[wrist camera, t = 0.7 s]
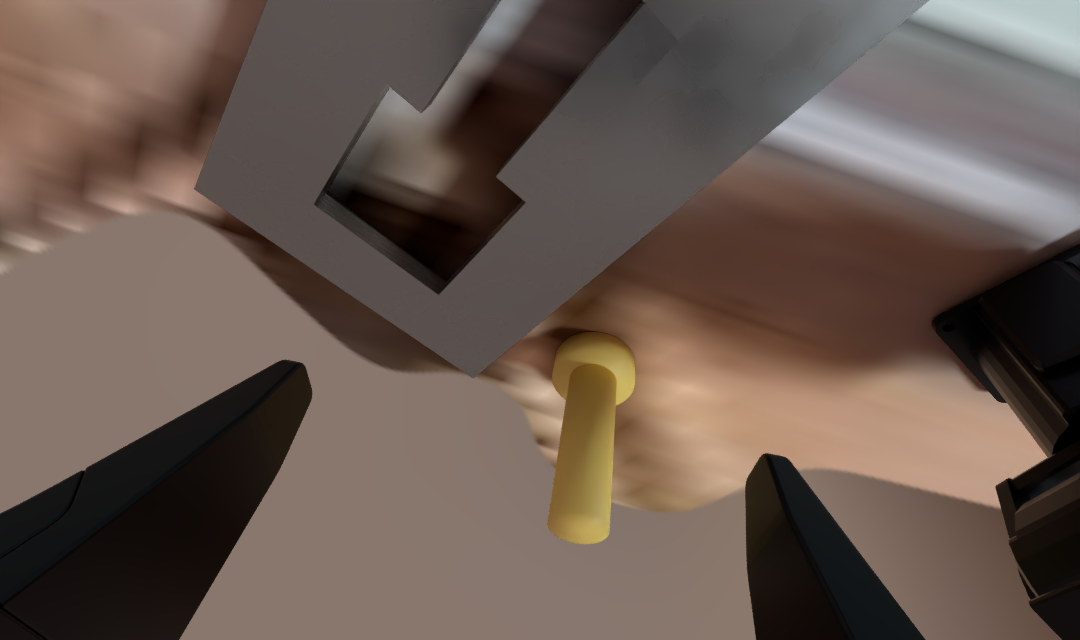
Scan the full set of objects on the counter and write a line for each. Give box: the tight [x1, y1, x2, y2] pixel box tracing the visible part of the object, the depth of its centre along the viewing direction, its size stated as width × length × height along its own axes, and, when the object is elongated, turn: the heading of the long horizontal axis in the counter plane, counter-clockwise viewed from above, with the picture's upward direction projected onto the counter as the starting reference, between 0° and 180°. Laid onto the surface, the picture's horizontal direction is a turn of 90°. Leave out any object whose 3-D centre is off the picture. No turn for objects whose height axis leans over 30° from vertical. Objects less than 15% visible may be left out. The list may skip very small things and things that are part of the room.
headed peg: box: [548, 332, 635, 544], centre depth 23 cm, size 4×4×9 cm
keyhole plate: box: [194, 0, 929, 378], centre depth 18 cm, size 14×22×3 cm, turn 140°
